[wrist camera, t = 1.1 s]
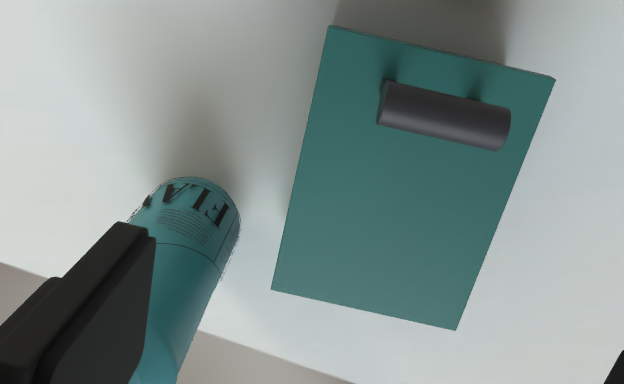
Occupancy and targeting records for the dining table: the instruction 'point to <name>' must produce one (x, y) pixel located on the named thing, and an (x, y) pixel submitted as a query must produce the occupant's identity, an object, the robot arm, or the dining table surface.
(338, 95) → the lunchbox lid
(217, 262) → the beverage bottle
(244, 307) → the dining table surface
